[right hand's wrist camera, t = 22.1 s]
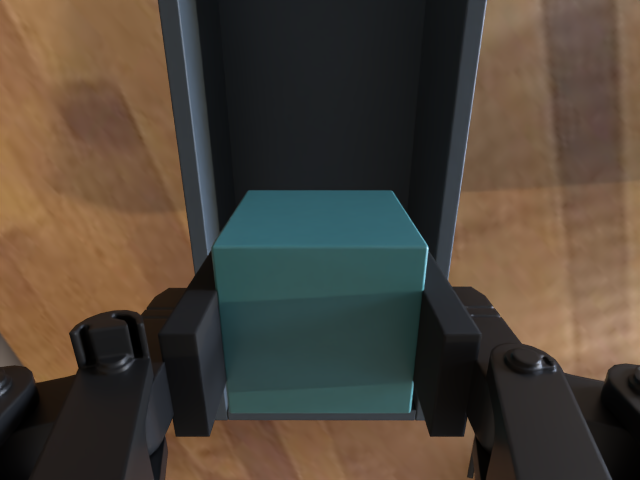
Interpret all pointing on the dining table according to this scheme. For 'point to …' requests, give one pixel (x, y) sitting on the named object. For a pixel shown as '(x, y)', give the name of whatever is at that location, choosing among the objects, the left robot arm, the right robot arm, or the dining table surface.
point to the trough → (322, 112)
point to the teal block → (319, 301)
